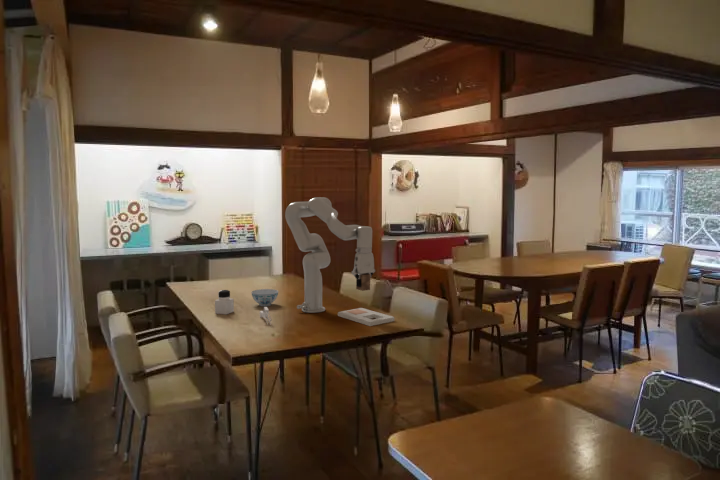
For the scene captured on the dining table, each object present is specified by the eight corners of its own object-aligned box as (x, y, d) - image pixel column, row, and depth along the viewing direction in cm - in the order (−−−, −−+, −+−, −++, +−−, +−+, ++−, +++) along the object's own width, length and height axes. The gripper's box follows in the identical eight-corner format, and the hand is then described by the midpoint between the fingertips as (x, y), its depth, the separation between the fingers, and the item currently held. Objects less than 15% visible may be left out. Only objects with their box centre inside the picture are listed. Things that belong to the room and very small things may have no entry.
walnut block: (362, 290, 269) (362, 275, 268) (356, 289, 273) (356, 273, 272) (370, 289, 272) (370, 274, 271) (363, 288, 276) (364, 272, 275)
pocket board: (370, 326, 258) (370, 321, 257) (337, 315, 278) (337, 311, 278) (394, 320, 268) (394, 316, 268) (361, 311, 288) (361, 307, 288)
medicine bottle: (234, 311, 286) (233, 289, 285) (226, 314, 279) (226, 292, 278) (222, 310, 289) (222, 288, 287) (214, 313, 282) (214, 291, 281)
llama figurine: (270, 336, 262) (262, 315, 276) (272, 317, 257) (263, 296, 271) (266, 336, 261) (258, 315, 275) (268, 318, 256) (260, 297, 270)
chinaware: (272, 308, 294) (272, 294, 293) (247, 307, 297) (247, 293, 296) (282, 302, 308) (282, 289, 308) (257, 301, 311) (257, 288, 311)
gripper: (355, 252, 262) (354, 289, 264) (381, 250, 273) (380, 285, 275) (346, 250, 268) (345, 286, 270) (372, 248, 278) (371, 283, 281)
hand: (363, 285), depth 272 cm, fingers closed on walnut block, 5 cm apart
